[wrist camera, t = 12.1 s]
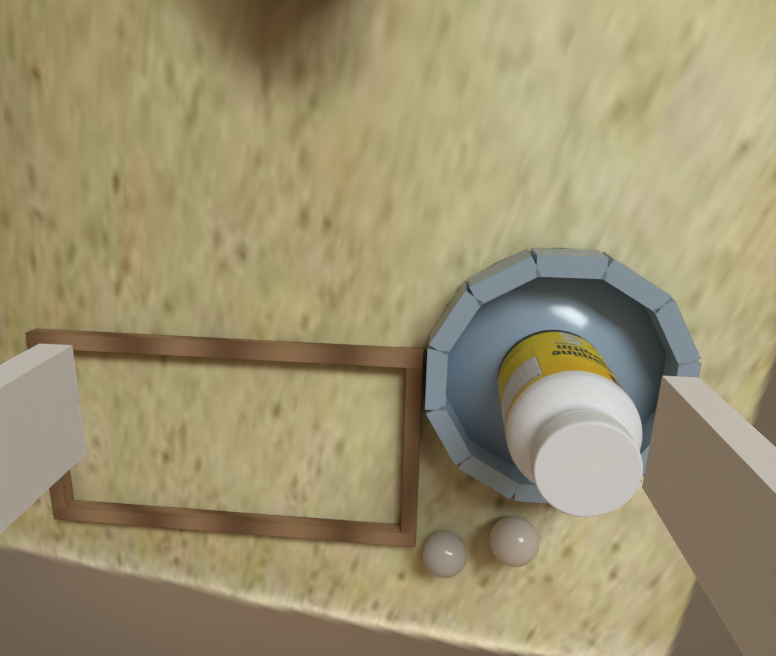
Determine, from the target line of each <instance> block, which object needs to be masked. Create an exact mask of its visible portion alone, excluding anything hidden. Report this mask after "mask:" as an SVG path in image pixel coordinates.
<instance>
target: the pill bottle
mask: <svg viewBox="0 0 776 656" xmlns="http://www.w3.org/2000/svg"><path fill="white" fill-rule="evenodd" d="M497 384H498V393H499V398H500V404H501V411H502V417H503V422H504V429H505V435H506V441H507V445H508V449H509V452H510V455H511V457H512V459H513V461H514V463H515V464H516V466H517V467H518V469H519V470H520V471H521V473H522V474H523V475H524V476H525V477H526V478H527V479H529V480H530V481H531V482H532V483H534V484H535V485H536V486H537V489H538V491H539V492H540V494H541V495H542V497H543V498H544V499H545V500H546V501H547V502H548V503H549V504H550V505H552V506H553V507H554V508H556V509H558V510H560V511H562V512H564V513H567V514H570V515H574V516H580V517H593V516H599V515H603V514H606V513H609V512H612V511H614V510H616V509H618V508H619V507H621V506H622V505H624V504H625V503H626V502H627V501H628V500H629V499H630V498H631V497H632V496H633V495H634V493H635V492H636V490H637V489H638V487H639V484H640V482H641V479H642V474H643V462H642V457H641V454H640V448H641V444H642V424H641V420H640V416H639V413H638V411H637V409H636V407H635V405H634V403H633V401H632V399H631V398H630V397H629V395H628V394H627V393H626V391H625V390H624V388H623V387H622V386H621V384H620V383H619V381H618V380H617V378H616V377H615V376H614V374H613V373H612V371H611V370H610V368H609V367H608V365H607V364H606V362H605V361H604V360H603V358H602V356H601V355H600V354H599V352H598V351H597V350H596V348H595V347H594V346H593V345H592V344H591V343H590V342H588V341H587V340H586V339H584V338H583V337H581V336H579V335H577V334H575V333H573V332H570V331H566V330H560V329H545V330H539V331H536V332H533V333H530V334H528V335H526V336H524V337H522V338H521V339H519V340H518V341H517V342H516V343H514V344H513V345H512V346H511V347H510V349H509V350H508V351H507V352H506V354H505V355H504V357H503V359H502V361H501V364H500V367H499V371H498V378H497Z"/></svg>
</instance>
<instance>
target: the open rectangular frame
mask: <svg viewBox="0 0 776 656" xmlns="http://www.w3.org/2000/svg"><path fill="white" fill-rule="evenodd" d="M25 334H26V340H27V347H28V349H30V348H32V347H34V346H36V345H38V344H59V345H72V347H73V350H82V351H100V352H119V353H138V354H156V355H175V356H194V357H212V358H231V359H250V360H268V361H287V362H306V363H324V364H343V365H362V366H381V367H399V368H406V396H405V427H404V458H403V488H402V519H401V525H399V524H385V523H372V522H359V521H345V520H332V519H319V518H305V517H292V516H279V515H266V514H252V513H239V512H226V511H212V510H199V509H186V508H172V507H159V506H146V505H133V504H119V503H106V502H93V501H79V500H74V498H73V491H72V484H71V477H70V470H68V471H67V472H66V473H65V474H64V475H63V476H62V477H61V478H60V479H59V480H58V481H56V482H55V483H54V484H53V485H52V486H51V487H50V488H49V489H50V495H51V501H52V508H53V514H54V519H61V520H74V521H87V522H100V523H112V524H125V525H138V526H151V527H164V528H176V529H189V530H202V531H215V532H228V533H240V534H253V535H266V536H279V537H292V538H304V539H317V540H330V541H343V542H356V543H368V544H381V545H394V546H407V547H415V544H416V525H417V500H418V475H419V451H420V426H421V402H422V377H423V353H424V348H405V347H385V346H366V345H346V344H326V343H306V342H287V341H267V340H247V339H228V338H208V337H188V336H168V335H149V334H129V333H109V332H90V331H70V330H50V329H34V330H31V331H29V332H27V333H25Z"/></svg>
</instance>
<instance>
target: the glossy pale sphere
mask: <svg viewBox="0 0 776 656" xmlns="http://www.w3.org/2000/svg"><path fill="white" fill-rule="evenodd" d="M422 557H423V561H424V564H425V566H426V568H427V569H428V570H429V571H430V572H431V573H432V574H433V575H435V576H437V577H440V578H450V577H453V576H455V575H457V574H458V573H459V572H460V571H461V570H462V569H463V568H464V566H465V563H466V560H467V551H466V547H465V544H464V542H463V541H462V539H461V538H460V537H459V536H458V535H456V534H455V533H453V532H450V531H438V532H435V533H433V534H432V535H430V536H429V537H428V538H427V540H426V541H425V543H424V546H423V550H422Z"/></svg>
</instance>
